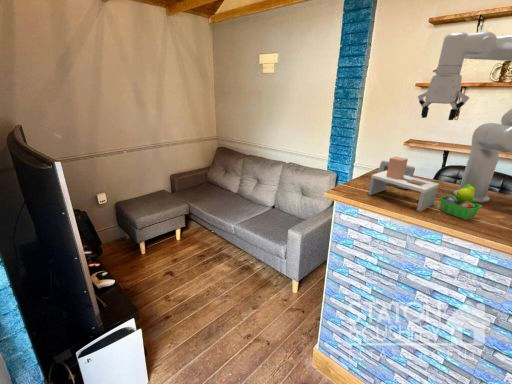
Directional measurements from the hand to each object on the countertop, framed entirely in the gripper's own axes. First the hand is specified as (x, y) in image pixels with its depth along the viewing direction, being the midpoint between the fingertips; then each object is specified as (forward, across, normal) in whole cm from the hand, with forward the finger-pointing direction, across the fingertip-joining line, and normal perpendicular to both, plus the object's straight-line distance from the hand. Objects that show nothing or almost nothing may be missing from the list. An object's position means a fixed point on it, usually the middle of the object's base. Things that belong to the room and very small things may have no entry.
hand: (436, 118), depth 107 cm
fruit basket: (+34, +17, -6) cm, 38 cm away
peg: (+27, -7, -10) cm, 30 cm away
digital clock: (+33, -15, +5) cm, 37 cm away
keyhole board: (+33, -3, -10) cm, 35 cm away
